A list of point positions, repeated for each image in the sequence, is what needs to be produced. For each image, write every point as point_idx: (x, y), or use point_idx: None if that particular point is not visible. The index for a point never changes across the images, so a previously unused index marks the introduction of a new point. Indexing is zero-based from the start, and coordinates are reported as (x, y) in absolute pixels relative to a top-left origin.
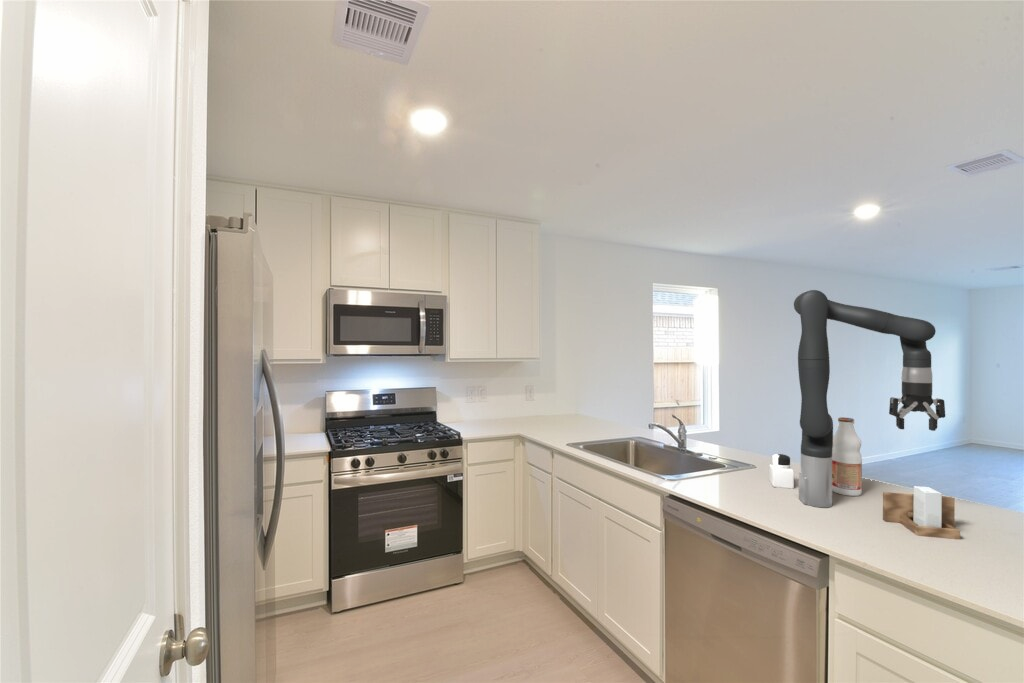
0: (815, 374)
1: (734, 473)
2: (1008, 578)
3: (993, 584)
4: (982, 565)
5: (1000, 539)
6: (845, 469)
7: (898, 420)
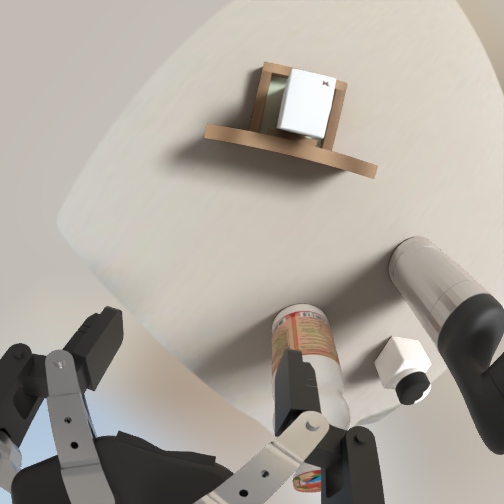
0: None
1: None
2: None
3: None
4: None
5: (177, 74)
6: (328, 347)
7: (318, 403)
